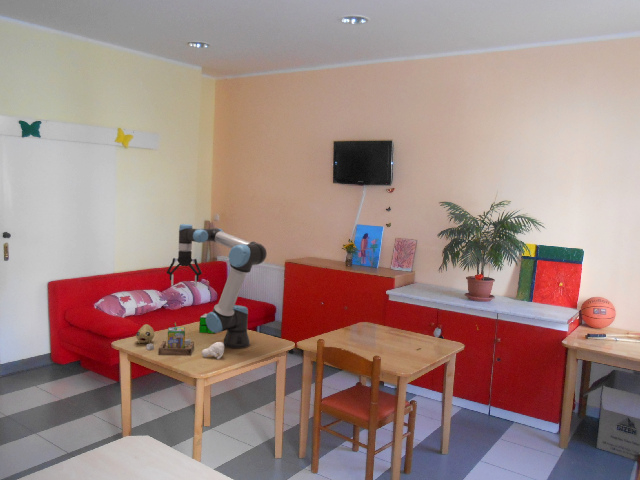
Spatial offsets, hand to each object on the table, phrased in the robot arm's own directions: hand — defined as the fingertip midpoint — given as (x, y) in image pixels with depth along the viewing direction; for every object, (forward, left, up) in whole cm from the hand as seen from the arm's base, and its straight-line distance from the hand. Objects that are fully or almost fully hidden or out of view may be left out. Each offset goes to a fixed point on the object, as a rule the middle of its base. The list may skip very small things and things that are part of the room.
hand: (184, 285), depth 314 cm
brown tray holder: (-13, +22, -32) cm, 41 cm away
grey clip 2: (-10, +8, -32) cm, 34 cm away
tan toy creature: (+11, +20, -32) cm, 39 cm away
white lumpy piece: (-36, +21, -32) cm, 53 cm away
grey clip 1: (+1, +27, -32) cm, 42 cm away
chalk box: (-13, +22, -31) cm, 40 cm away
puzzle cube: (-4, -22, -32) cm, 39 cm away
